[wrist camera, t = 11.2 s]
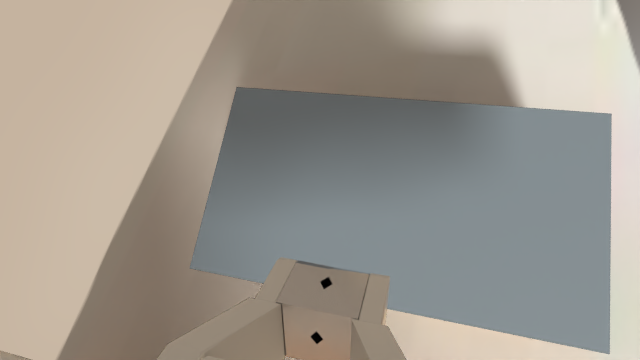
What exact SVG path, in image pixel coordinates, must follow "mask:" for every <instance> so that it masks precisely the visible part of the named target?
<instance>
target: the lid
mask: <svg viewBox="0 0 640 360" xmlns="http://www.w3.org/2000/svg"><path fill="white" fill-rule="evenodd" d="M610 237H611V114H608V113H594V112H579V111H565V110H551V109H537V108H523V107H509V106H495V105H481V104H467V103H453V102H439V101H425V100H411V99H397V98H383V97H369V96H355V95H341V94H327V93H312V92H298V91H284V90H270V89H256V88H242V87H237V88H236V92H235V96H234V100H233V103H232V107H231V111H230V115H229V119H228V123H227V127H226V130H225V134H224V138H223V142H222V146H221V150H220V153H219V157H218V161H217V165H216V169H215V173H214V176H213V180H212V184H211V188H210V192H209V196H208V200H207V203H206V207H205V211H204V215H203V219H202V223H201V226H200V230H199V234H198V238H197V242H196V246H195V249H194V253H193V257H192V261H191V265H190V269H195V270H200V271H205V272H210V273H215V274H220V275H225V276H229V277H234V278H239V279H244V280H249V281H254V282H259V283H264V282H265V280H266V278H267V277H268V275H269V273H270V271H271V270H272V268H273V266H274V265H275V263H276V261H277V260H278V259H279V258H280V257H283V258H288V259H293V260H300V261H305V262H310V263H315V264H320V265H325V266H330V267H336V268H342V269H347V270H353V271H359V272H365V273H370V274H371V273H373V274H380V275H386V276H390V286H389V296H388V306H387V309H391V310H396V311H400V312H405V313H410V314H415V315H420V316H425V317H430V318H435V319H440V320H444V321H449V322H454V323H459V324H464V325H469V326H474V327H479V328H484V329H488V330H493V331H498V332H503V333H508V334H513V335H518V336H523V337H528V338H532V339H537V340H542V341H547V342H552V343H557V344H562V345H567V346H572V347H576V348H581V349H586V350H591V351H596V352H601V353H606V354H610Z"/></svg>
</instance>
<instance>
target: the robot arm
mask: <svg viewBox="0 0 640 360" xmlns="http://www.w3.org/2000/svg"><path fill="white" fill-rule="evenodd" d="M389 286H390V276H386V275H380V274H373V273H371V274H370V273H365V272H359V271H353V270H347V269H342V268H336V267H330V266H325V265H320V264H315V263H310V262H305V261H300V260H293V259H288V258H283V257H280V258H279V259H278V260H277V261H276V263H275V265H274V266H273V268H272V270H271V271H270V273H269V275H268V277H267V278H266V280H265V282H264V284H263V285H262V287H261V289H260V291H259V292H258V294H257V296H256V298H255V299H254V298H248V299H246V300H245V301H243V302H241V303H239V304H238V305H236V306H234V307H232V308H230V309H229V310H227V311H225V312H223V313H222V314H220V315H218V316H216V317H214V318H213V319H211V320H209V321H207V322H206V323H204V324H202V325H200V326H198V327H197V328H195V329H193V330H191V331H190V332H188V333H186V334H184V335H182V336H181V337H179V338H177V339H175V340H174V341H172V342H170V343H168V344H167V346H166V347H165V348H164V350H163V351H162V352H161V354H160V355H159V356H158V358H157V359H156V360H284V359H285V356H287V357H292V358H297V359H301V360H406V358H405V356H404V354H403V353H402V351H401V349H400V347H399V345H398V344H397V342H396V340H395V338H394V336H393V335H392V333H391V331H390V329H389V327H388V326H385V324H386V315H387V306H388V296H389ZM0 360H31V359H28V358H24V357H21V356H17V355H14V354H10V353H7V352H3V351H0Z"/></svg>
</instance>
